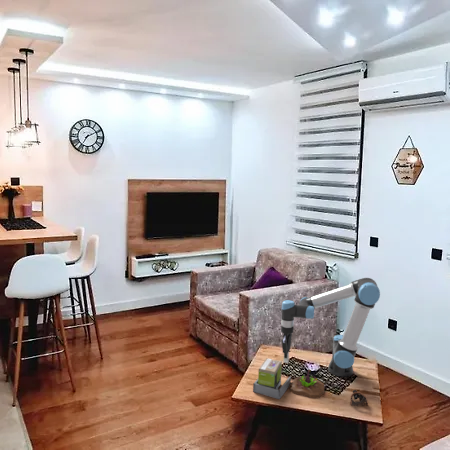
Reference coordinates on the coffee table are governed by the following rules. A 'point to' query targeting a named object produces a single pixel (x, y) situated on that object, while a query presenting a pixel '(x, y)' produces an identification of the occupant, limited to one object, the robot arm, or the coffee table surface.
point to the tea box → (270, 373)
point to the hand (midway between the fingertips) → (286, 362)
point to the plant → (307, 386)
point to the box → (271, 389)
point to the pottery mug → (356, 395)
